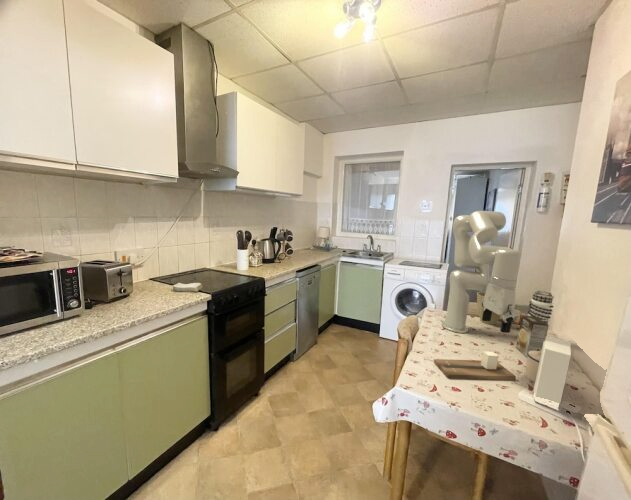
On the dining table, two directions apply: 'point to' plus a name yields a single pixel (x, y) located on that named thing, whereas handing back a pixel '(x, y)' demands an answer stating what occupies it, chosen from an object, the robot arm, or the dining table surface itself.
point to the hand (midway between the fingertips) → (495, 326)
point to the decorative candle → (541, 305)
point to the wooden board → (472, 370)
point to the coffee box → (531, 334)
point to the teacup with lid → (532, 365)
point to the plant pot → (494, 316)
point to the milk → (552, 369)
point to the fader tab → (489, 360)
